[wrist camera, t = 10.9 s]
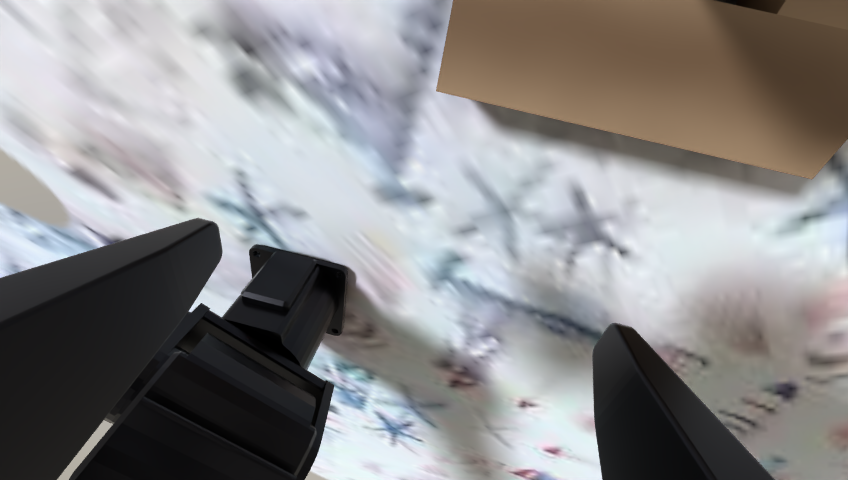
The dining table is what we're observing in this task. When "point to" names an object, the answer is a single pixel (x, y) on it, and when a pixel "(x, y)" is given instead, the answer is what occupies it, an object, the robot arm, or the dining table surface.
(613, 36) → the walnut block
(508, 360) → the dining table surface
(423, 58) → the dining table surface
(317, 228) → the dining table surface
